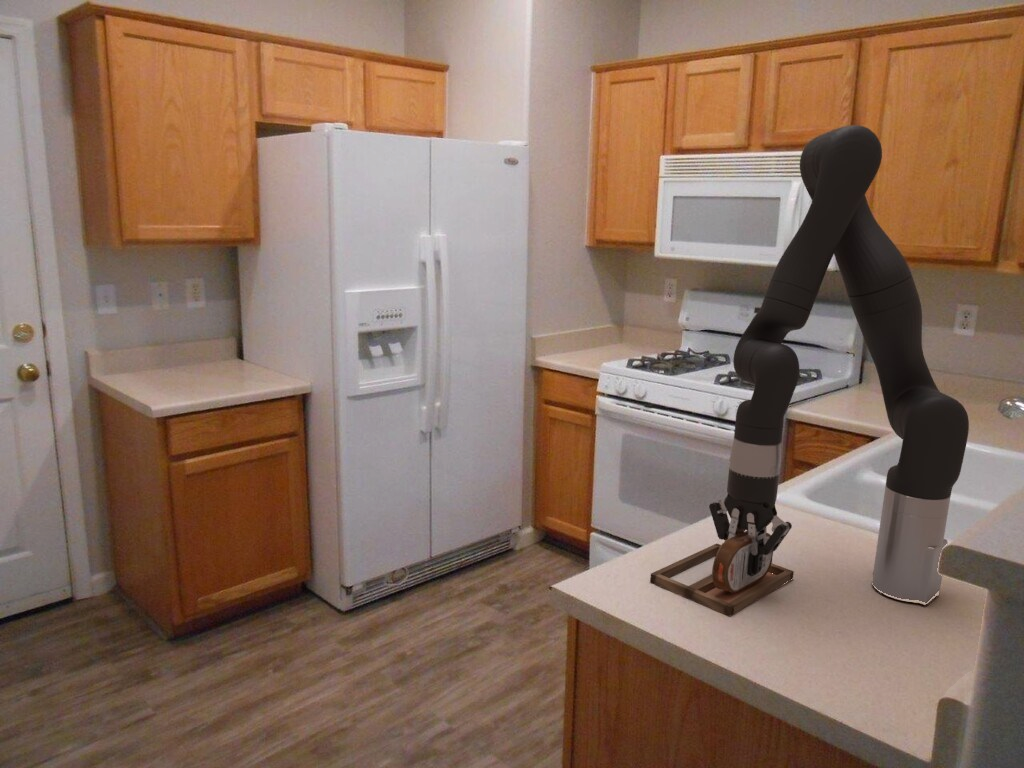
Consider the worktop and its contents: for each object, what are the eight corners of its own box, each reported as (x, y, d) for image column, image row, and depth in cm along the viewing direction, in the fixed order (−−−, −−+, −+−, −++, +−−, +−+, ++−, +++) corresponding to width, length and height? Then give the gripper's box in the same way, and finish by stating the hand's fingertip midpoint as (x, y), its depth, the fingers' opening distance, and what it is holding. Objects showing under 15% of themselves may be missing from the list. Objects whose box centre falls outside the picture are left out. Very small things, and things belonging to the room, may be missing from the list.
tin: (759, 570, 132) (761, 521, 131) (776, 575, 130) (778, 525, 129) (709, 595, 122) (710, 543, 121) (727, 601, 120) (729, 548, 119)
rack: (792, 579, 130) (793, 571, 130) (729, 616, 117) (730, 607, 117) (715, 551, 141) (716, 543, 140) (650, 582, 127) (650, 573, 127)
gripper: (808, 474, 120) (795, 579, 123) (727, 452, 130) (718, 551, 133) (784, 484, 115) (771, 593, 118) (702, 461, 125) (692, 562, 128)
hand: (743, 570), depth 126 cm, fingers closed on tin, 2 cm apart
